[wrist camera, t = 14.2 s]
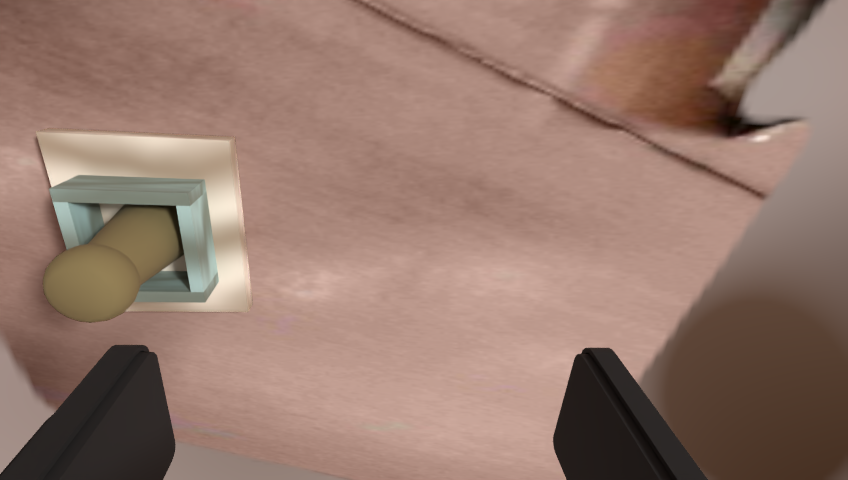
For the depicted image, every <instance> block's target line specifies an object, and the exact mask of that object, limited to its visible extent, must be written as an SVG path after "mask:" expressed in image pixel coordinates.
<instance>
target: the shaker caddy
mask: <svg viewBox="0 0 848 480" xmlns="http://www.w3.org/2000/svg"><path fill="white" fill-rule="evenodd" d="M36 135H37V139H38V142H39V145H40V149H41V152H42V156H43V159H44V163H45V166H46V170H47V173H48V177H49V180H50V184H51V187H52V188H50V189H49V191H50V194H51V198H52V201H53V204H54V208H55V211H56V215H57V218H58V222H59V225H60V228H61V232H62V235H63V239H64V242H65V246H66V249H67V250H68V249H70V248H72V247H75V246H79V245H84V244H88V243H89V242H90V241H91V240H92V239H93V238H94V237H95V236H96V234H97V233H98V232H99V231H100V230H101V229H102V228H103V227H104V226H105V225H106V224H107V223H108V222H109V221H110V219H111V218H112V217H113V216H114V215H115V214H116V213H117V212H118V211H119V210H120V209H121V208H122V207H123V205H124V204H138V205H171V206H176V208H177V214H178V220H179V226H180V232H181V238H182V243H183V249H184V255H183V256H181V257H180V258H178V259H177V260H175V261H174V262H173V263H171V264H170V265H168V266H167V267H166V268H164V269H163V270H161V271H160V272H159V273H157V274H156V275H154V276H153V277H152V278H150V279H149V280H147V281H146V282H145V283H143V284H142V285H140V289H139V292H138V294H137V297H136V299H135V301H134V302H133V303H132V305H131V306H130V307H129V308H128V309H127V310H126V311H153V312H249V310H250V308H251V306H252V293H251V284H250V275H249V265H248V256H247V247H246V237H245V228H244V219H243V209H242V200H241V191H240V181H239V172H238V163H237V153H236V144H235V137H229V136H207V135H186V134H164V133H143V132H121V131H100V130H79V129H57V128H48V129H44V130H41V131H37V132H36Z"/></svg>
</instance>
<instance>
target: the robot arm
mask: <svg viewBox="0 0 848 480" xmlns="http://www.w3.org/2000/svg"><path fill="white" fill-rule="evenodd" d="M553 444H554V450H555V453H556V455H557V458H558V460H559V462H560V465H561V467H562V470H563V472H564V474H565V477H566V479H567V480H708V479H707V478H706V477H705V475H704V474H703V472H702V471H701V470H700V468H699V467H698V466H697V464H696V463H695V462H694V460H693V459H692V458H691V456H690V455H689V453H688V452H687V451H686V449H685V448H684V447H683V445H682V444H681V442H680V441H679V440H678V438H677V437H676V436H675V434H674V433H673V432H672V430H671V429H670V428H669V426H668V425H667V423H666V422H665V421H664V419H663V418H662V417H661V415H660V414H659V412H658V411H657V410H656V408H655V407H654V406H653V404H652V403H651V402H650V400H649V399H648V397H647V396H646V395H645V393H644V392H643V391H642V390H641V388H640V386H639V385H638V384H637V382H636V381H635V380H634V378H633V377H632V376H631V374H630V373H629V371H628V370H627V369H626V367H625V366H624V365H623V363H622V362H621V361H620V359H619V358H618V356H617V355H616V354H615V352H614V351H613V350H612V349H610V348H585V349H584V350H583V351H582V353H581V354H577V355H576V357H575V359H574V363H573V366H572V370H571V374H570V377H569V381H568V385H567V388H566V392H565V396H564V399H563V403H562V407H561V410H560V414H559V418H558V421H557V425H556V429H555V432H554V437H553ZM174 452H175V439H174V434H173V429H172V424H171V420H170V415H169V410H168V406H167V401H166V396H165V391H164V387H163V382H162V377H161V372H160V368H159V363H158V358H157V355H156V354H155V353H154V352H149V350H148V348H147V347H146V346H144V345H114V346H112V347H111V348H110V349H109V350H108V351H107V352H106V353H105V354H104V356H103V357H102V358H101V359H100V360H99V361H98V363H97V364H96V365H95V366H94V367H93V368H92V370H91V371H90V372H89V373H88V374H87V376H86V377H85V378H84V379H83V380H82V381H81V383H80V384H79V385H78V386H77V387H76V388H75V390H74V391H73V392H72V393H71V394H70V395H69V397H68V398H67V399H66V400H65V401H64V403H63V404H62V405H61V406H60V407H59V408H58V410H57V411H56V412H55V413H54V414H53V415H52V416H51V417H50V418H49V419H48V420H46V421H45V423H44V424H43V425H42V426H41V427H40V429H39V430H38V431H37V432H36V433H35V434H34V435H33V437H32V438H31V439H30V440H29V441H28V442H27V444H26V445H25V446H24V447H23V448H22V449H21V451H20V452H19V453H18V454H17V455H16V457H15V458H14V459H13V460H12V461H11V462H10V463H9V465H8V466H7V467H6V468H5V469H4V470H3V472H2V473H1V474H0V480H163V478H164V476H165V474H166V472H167V470H168V468H169V466H170V464H171V462H172V459H173V456H174Z"/></svg>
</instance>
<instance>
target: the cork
mask: <svg viewBox="0 0 848 480" xmlns="http://www.w3.org/2000/svg"><path fill="white" fill-rule="evenodd" d="M183 255H184V249H183V243H182V238H181V232H180V226H179V220H178V214H177V208H176V206H171V205H138V204H124V205H123V207H122V208H121V209H120V210H119V211H118V212H117V213H116V214H115V215H114V216H113V217H112V218H111V219H110V221H109V222H108V223H107V224H106V225H105V226H104V227H103V228H102V229H101V230H100V231H99V232H98V233H97V234H96V236H95V237H94V238H93V239H92V240H91V241H90V242H89V243H88V244H84V245H79V246H75V247H72V248H70V249H68V250H66V251H64V252H62V253H61V254H59V255H58V256H56V257H55V259H54V260H53V261H52V262H51V263H50V264H49V265H48V267H47V268H46V270H45V274H44V277H43V290H44V294H45V296H46V298H47V300H48V302H49V303H50V304H51V305H52V306H53V307H54V308H55V309H56V310H57V311H58V312H60V313H61V314H63V315H64V316H66V317H68V318H71V319H74V320H77V321H81V322H89V323H91V322H100V321H107V320H110V319H112V318H114V317H116V316H118V315H120V314H122V313H124V312H125V311H126V310H127V309H128V308H129V307H130V306H131V305H132V303H133V302H134V301H135V299H136V297H137V294H138V292H139V289H140V285H142V284H143V283H145V282H146V281H147V280H149V279H150V278H152V277H153V276H154V275H156V274H157V273H159V272H160V271H161V270H163V269H164V268H166V267H167V266H168V265H170V264H171V263H173V262H174V261H175V260H177V259H178V258H180V257H181V256H183Z"/></svg>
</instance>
